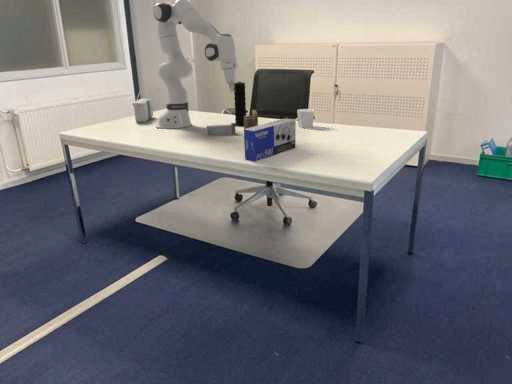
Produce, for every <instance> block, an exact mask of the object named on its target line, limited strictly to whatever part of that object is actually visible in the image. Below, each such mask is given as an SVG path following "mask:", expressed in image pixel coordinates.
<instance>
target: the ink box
mask: <svg viewBox="0 0 512 384" xmlns="http://www.w3.org/2000/svg"><path fill="white" fill-rule="evenodd" d="M296 123H297V122H296V119H293V118H281V119H279V120H274V121H270V122H267V123H266V122H265V123H263V124H258V126H254V127H250V128H246V129H243V140H244V141H243V143H244V159H245V161H248V162H249V161H251V162H258V161H260V160H264V159H266V158H269V157H273V156H275V155H278V154H281V153H283V152H287V151H289V150H290V151H291V150H292V149H296V128H297V127H296V126H297V125H296Z"/></svg>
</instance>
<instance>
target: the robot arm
mask: <svg viewBox="0 0 512 384" xmlns="http://www.w3.org/2000/svg"><path fill="white" fill-rule="evenodd" d="M153 15H154V18H155V20H156V22H157V24H156V25H157V34H158V40H159V44H160V50H161V52H162V53H163V55H165V56H166V58H167V59H168V61H165V62H163V63H161V64H160V65H159V66H158V68H157V73H158V76H159V78H160V79H161V80H162V81H163V82H164V84H165V86H166V89H167V92H168V101H169V102H167V103H166V110H165V111H164V112H163V113H161V114H160V115H159V118H158V123H156V124H155V128H156V129H182V128H184V127H185V128H186V127H190V126H191V125H192V124H193V123H192V122H191V118H190V112H189V111H190V108H189V106H190V105H189V102H188V92H187V89H186V87H185V86H183V84H182V81H181V80H184V79H187V78H189V77H191V76H192V74H193V66H192V64H191V63H190V62H189V61H188V60H187V59H186V57H185V55H184V54H183V51H182V49H181V44H180V41H179V36H178V32H177V24H178V25H182V26H183V27H184V29H186V30H187V31H188V32H191V33H194V34H198V35H202V36H205V37H206V38H208V39H209V40H210V41H211V42H209V43H207V44H206V46H205V48H204V55H205V58H206V59H207V60H208V61H210V62H219V64H220V69H221V71H223V74H224V75H223V76H224V79H225V81H226V82H225V83H226V84H228V88H229V92H230V93H234V92H235V84H234V83H237V81H236V75H235V72H236V69H237V68H238V63H237V62H238V61H237V60H238V59H237V56H236V47H235V41H234V38H233V35H231V34H229V33H220V32H219V30H217V29H216V28H215V27H214V26H213V25H212V24H211V23H210V22H209V21H208V20H206V19H205V17H203V16H202V15H201V13H200V12H199V11H198V10H197V8H196V7H195V6H194V5H193V4H192V3H191V1H189V0H176V1H163V2H162V1H161V2H158V3H156V4H154V7H153Z"/></svg>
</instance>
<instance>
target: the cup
mask: <svg viewBox="0 0 512 384" xmlns="http://www.w3.org/2000/svg"><path fill="white" fill-rule="evenodd" d="M296 111H297V112H296V113H297V123H298V128H300V129H310V128H312V127H313V125H314V116H315V115H314V114H315V109H314V108H313V109H312V108H301V109H297V110H296Z"/></svg>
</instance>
